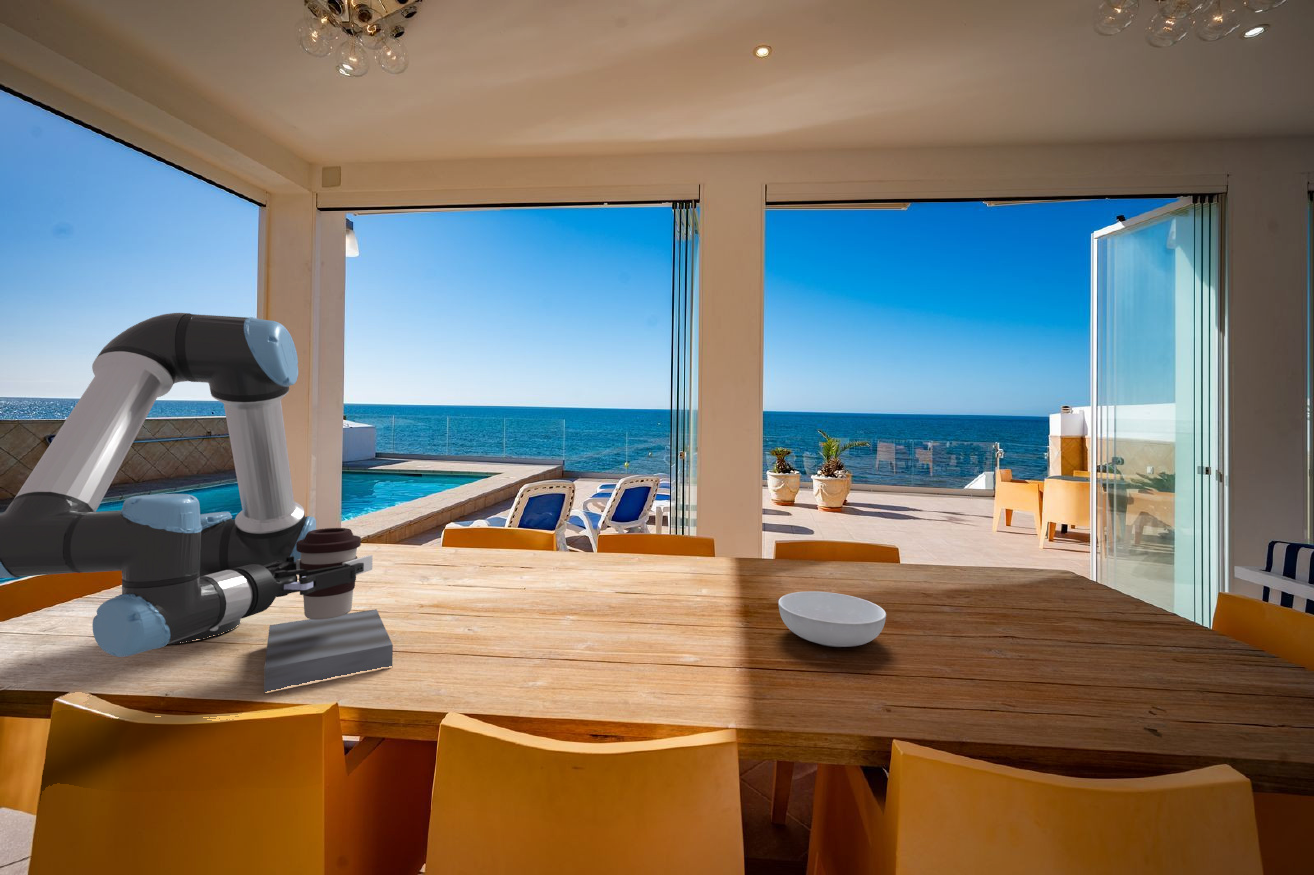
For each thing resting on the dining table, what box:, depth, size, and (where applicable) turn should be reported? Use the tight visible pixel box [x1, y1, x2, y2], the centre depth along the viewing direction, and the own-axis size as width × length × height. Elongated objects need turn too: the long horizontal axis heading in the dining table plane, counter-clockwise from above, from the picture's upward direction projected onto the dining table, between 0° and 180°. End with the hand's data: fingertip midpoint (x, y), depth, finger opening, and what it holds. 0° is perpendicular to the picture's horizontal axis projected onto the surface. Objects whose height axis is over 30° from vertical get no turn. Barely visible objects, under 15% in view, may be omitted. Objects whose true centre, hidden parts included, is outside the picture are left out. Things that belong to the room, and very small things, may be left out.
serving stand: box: [263, 608, 394, 693], centre depth 98 cm, size 22×18×4 cm
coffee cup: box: [296, 527, 362, 620], centre depth 98 cm, size 10×10×15 cm
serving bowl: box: [777, 590, 887, 648], centre depth 111 cm, size 21×21×7 cm
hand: (348, 561), depth 102 cm, fingers closed on coffee cup, 9 cm apart
